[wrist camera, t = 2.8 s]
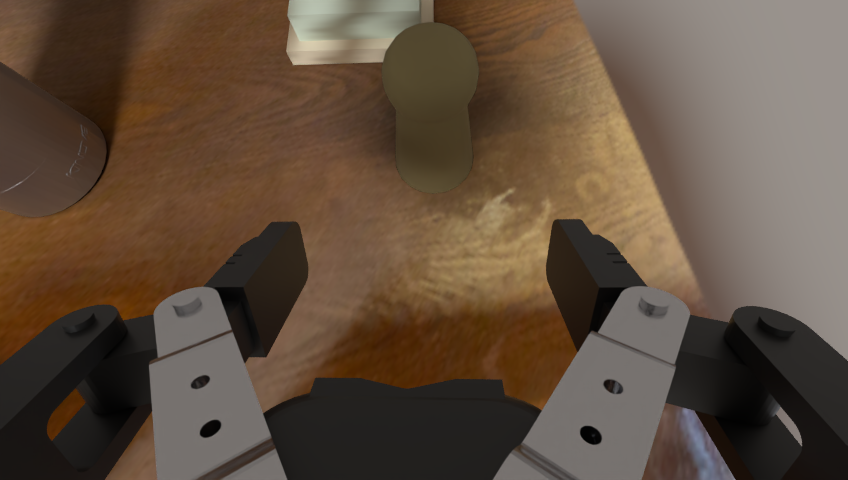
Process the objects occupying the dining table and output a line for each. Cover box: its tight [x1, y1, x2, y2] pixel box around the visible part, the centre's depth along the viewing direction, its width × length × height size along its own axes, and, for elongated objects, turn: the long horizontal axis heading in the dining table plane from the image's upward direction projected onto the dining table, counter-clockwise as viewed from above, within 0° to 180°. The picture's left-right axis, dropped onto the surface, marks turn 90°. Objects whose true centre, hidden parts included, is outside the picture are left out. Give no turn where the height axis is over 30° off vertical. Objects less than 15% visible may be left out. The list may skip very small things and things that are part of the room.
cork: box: [382, 22, 479, 194], centre depth 24 cm, size 6×6×11 cm
